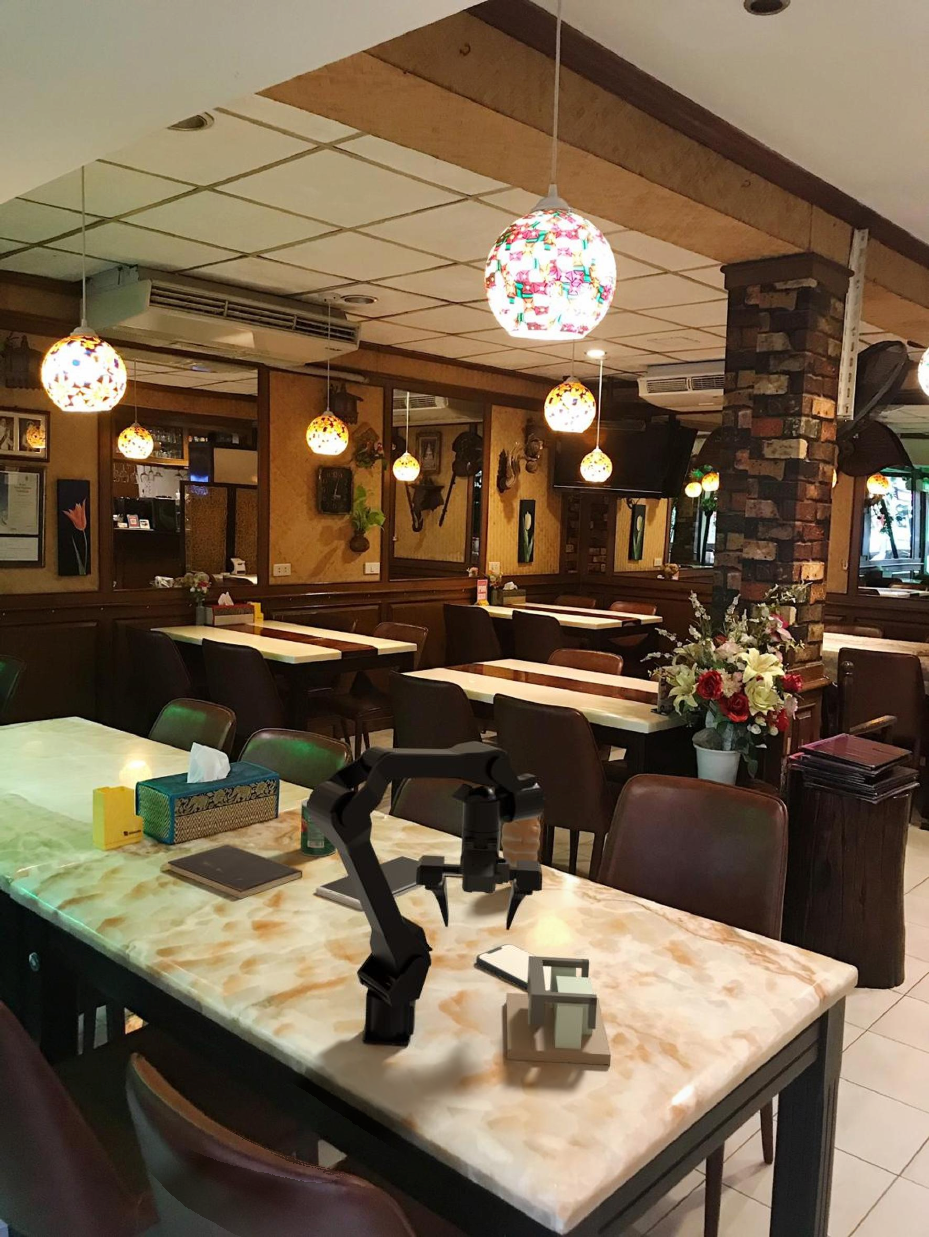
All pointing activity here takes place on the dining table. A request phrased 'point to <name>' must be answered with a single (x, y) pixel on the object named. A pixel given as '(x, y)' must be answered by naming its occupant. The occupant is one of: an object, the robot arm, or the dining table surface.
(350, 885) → the smartphone
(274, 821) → the dining table surface
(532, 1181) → the dining table surface
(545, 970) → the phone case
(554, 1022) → the green blocks on base
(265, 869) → the hardcover book
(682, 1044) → the dining table surface
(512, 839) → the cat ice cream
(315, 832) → the canned tomato
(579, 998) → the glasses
